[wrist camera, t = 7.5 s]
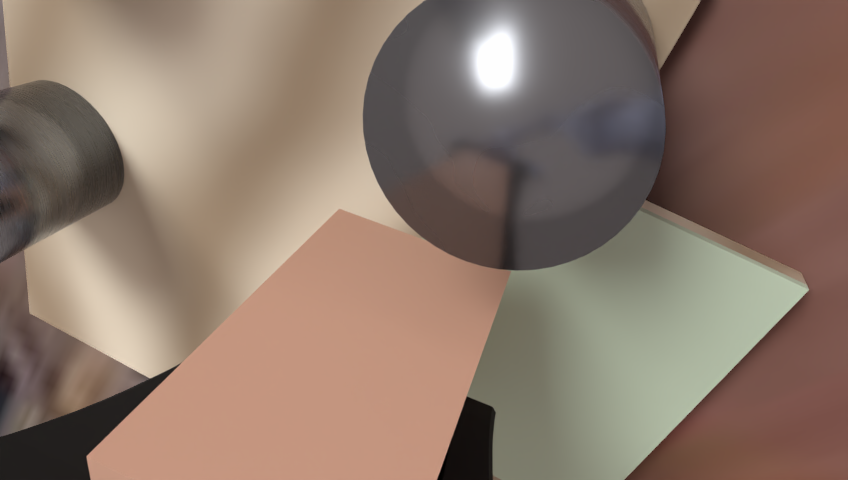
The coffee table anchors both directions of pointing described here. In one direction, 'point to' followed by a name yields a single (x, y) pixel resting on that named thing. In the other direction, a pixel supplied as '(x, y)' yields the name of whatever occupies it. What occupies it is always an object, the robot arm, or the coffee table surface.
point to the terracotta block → (322, 369)
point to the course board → (212, 154)
